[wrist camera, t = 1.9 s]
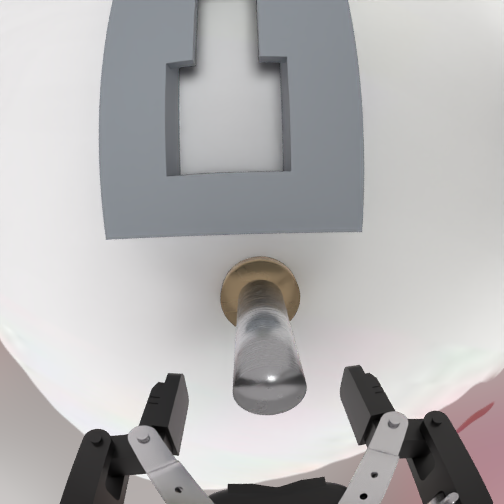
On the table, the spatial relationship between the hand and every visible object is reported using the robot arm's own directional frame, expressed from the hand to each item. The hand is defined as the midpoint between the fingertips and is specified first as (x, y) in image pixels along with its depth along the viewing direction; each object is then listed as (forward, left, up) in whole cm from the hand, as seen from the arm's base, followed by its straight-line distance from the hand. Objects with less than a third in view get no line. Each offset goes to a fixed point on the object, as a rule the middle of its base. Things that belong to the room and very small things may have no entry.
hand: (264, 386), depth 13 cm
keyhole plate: (+2, -19, -12) cm, 22 cm away
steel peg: (0, 0, -12) cm, 12 cm away
